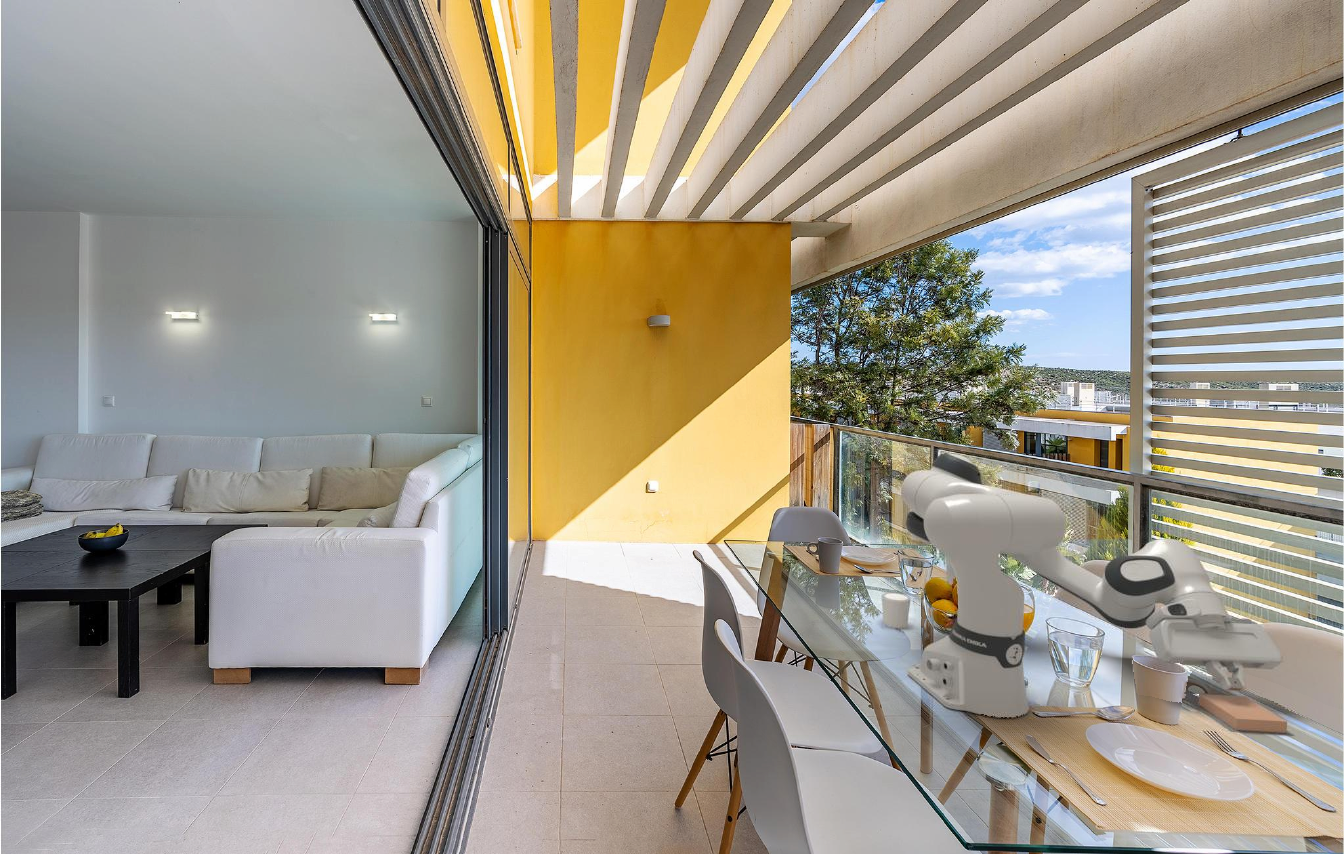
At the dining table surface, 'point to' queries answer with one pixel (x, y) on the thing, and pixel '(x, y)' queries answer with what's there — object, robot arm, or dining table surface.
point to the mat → (1194, 701)
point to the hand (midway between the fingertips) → (1235, 689)
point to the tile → (1242, 713)
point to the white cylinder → (895, 609)
